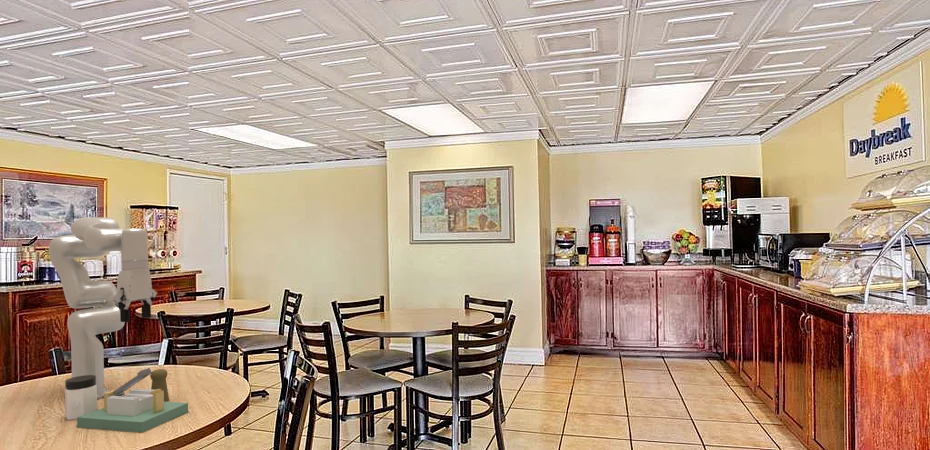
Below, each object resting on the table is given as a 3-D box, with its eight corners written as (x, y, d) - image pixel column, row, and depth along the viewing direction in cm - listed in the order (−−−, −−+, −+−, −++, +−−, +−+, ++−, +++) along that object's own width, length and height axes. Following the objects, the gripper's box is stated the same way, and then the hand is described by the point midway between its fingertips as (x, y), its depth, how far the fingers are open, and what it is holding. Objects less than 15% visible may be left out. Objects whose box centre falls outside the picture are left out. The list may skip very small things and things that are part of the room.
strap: (114, 395, 169) (111, 390, 170) (122, 392, 172) (120, 387, 173) (144, 375, 167) (141, 370, 167) (151, 372, 170) (149, 367, 170)
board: (77, 427, 164) (76, 399, 164) (128, 408, 181) (127, 382, 181) (141, 432, 158) (141, 403, 158) (188, 412, 175) (187, 385, 175)
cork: (160, 404, 184) (159, 372, 184) (145, 404, 185) (144, 371, 185) (173, 399, 190) (172, 367, 190) (158, 398, 191) (157, 367, 191)
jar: (59, 421, 170) (58, 382, 170) (71, 413, 178) (71, 376, 178) (91, 418, 172) (90, 380, 172) (102, 410, 180) (101, 374, 180)
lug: (150, 412, 166) (150, 391, 166) (158, 409, 169) (158, 388, 169) (156, 413, 165) (155, 391, 166) (164, 410, 168) (163, 389, 168)
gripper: (147, 264, 188) (148, 315, 187) (102, 268, 171) (103, 324, 171) (165, 264, 186) (166, 315, 186) (121, 267, 169) (122, 324, 169)
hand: (136, 319), depth 178 cm, fingers open, 7 cm apart
